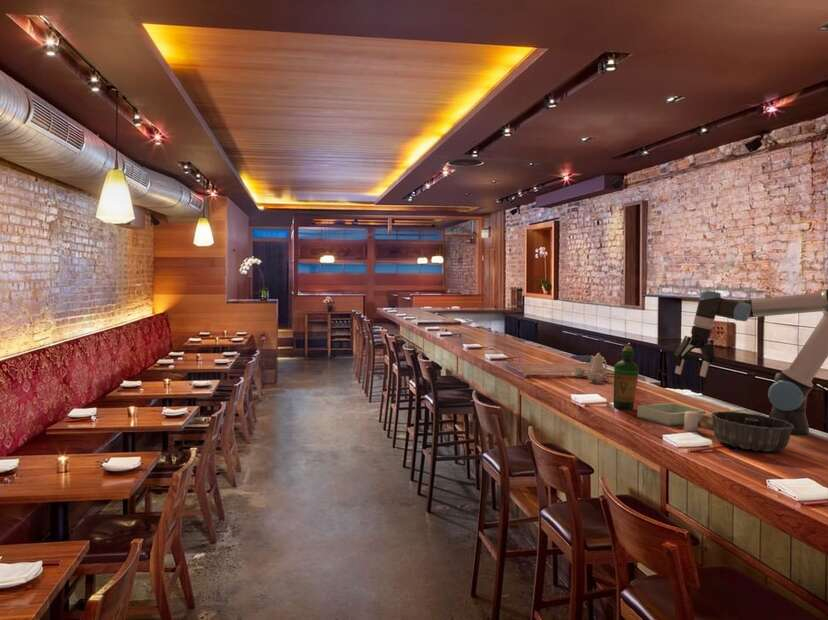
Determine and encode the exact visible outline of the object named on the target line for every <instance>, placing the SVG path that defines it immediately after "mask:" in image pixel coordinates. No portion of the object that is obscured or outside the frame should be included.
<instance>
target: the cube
mask: <svg viewBox="0 0 828 620" xmlns="http://www.w3.org/2000/svg"><path fill="white" fill-rule="evenodd" d="M711 415H712V413H705V414H701V421H700V423H699V427H702V428H704V429H705V428H706V429H709V430H714V429H713V417H711Z"/></svg>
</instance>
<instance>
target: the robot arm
mask: <svg viewBox="0 0 828 620" xmlns="http://www.w3.org/2000/svg"><path fill="white" fill-rule="evenodd" d="M721 295H722V294H721V293H720V292H717V291H713V290H707V289H704V290H702V291H701V293H700V296H699V299H698V303H697V307H696V312H695V316H694V320H693V323H692V324H693V325H692V327H691V331H690V334H691V336H689V335H684V338H683V340H682V342H681V343H680V345H679V346H678V348H677V349H676V351H675V352H674V354H673V356H674V357H675V358H676V362H675V366H676V367H675V370H674V373H675V374H677V375H682V370H683V367H684V363H685V359H684V358H685V357H686V356H687V355H688V354H689V353H691V351H693V350H694V349H699V350H700V351H701V353H702V356H703V359H704V360H703V361H702V363H701V367H700V372H699V376H701V377H703V378H706V377H707V373H708V370H709V368H710V364H713V362H715V360H716V356H715V349H714V342H715V341H714V339H712V338H710V337H711V334H712V331H713V330H712V328H713V327H714V323H715V318H716V316H717V317H722V318H726V319H730V320H734V321H739V322H740V321H741V322H747V321H748V320H749V318H757V317H760V318H761V317H768V316H769V317H770V316H780V315H781V316H782V315H795V314H804V313H805V314H806V313H817V312H822V313H823V316H822V317H821V319H820V320H819V322H818V323H817V325H816V327H815V328H814V330H813V331H812V333H811V334H810V335H809V337H808V338H807V340H806V341H805V343H804V344H803V345H802V348H801V350H800V351H799V352H798V354H797V355H796V357H795V358H794V360H793V361H792V362H791V365H790V366H789V368H786V369H782V370H781V372H777V373H776V374H775V376H774V382H773V383H772V384H771V385H770V386H769V388H768V391H767V396H768V400H769V402H770V403H771V405H772V408H771V411H770V413H769V415H768V417H772V418H775V419H779V420H784V421H787V422H788V423H791V424H793V426H794V428H793V429H792V431H791V434H792V435H808V434H810V433H809V432H810V426H809V423H808V419H807V415H806V414H807V413H806V411H807V410H806V409H807V403H808V402H807V400H808V394H809V393H810V391H811V390H812V389H813V387H814V384H813V382H812V380H813V379H814V378H815V376H816V375H817V374H818V371H819V370H820V369H821V367H822V366H823V365H824V363H825V361H826V360H827V358H828V288H826V289H824V290H823V291H820V292H813V293H812V292H810V293H802V294H794V295H783V296H773V297H764V298H755V299H753V298H752V299H743V300H732V299H726V298H722V297H721Z"/></svg>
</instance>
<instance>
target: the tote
mask: <svg viewBox="0 0 828 620" xmlns="http://www.w3.org/2000/svg"><path fill="white" fill-rule="evenodd" d="M685 411H692V412H697V413H699V418H698V424H700V421H701V414H706V410H703V409H699V408H695V407H690V406H687V405H683V404H679V403H675V402H669V403H667V402H666V403H665V402H664V403H654V404H641V405H640V404H639V405H637V414H636V415H637V416H636V417H637V418H640V419H643V420H646V421H648V422H649V421H650V422H653V423H655V424H659V425H663V426H666V427H675V426H684V417H685Z"/></svg>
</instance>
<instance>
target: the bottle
mask: <svg viewBox="0 0 828 620" xmlns="http://www.w3.org/2000/svg"><path fill="white" fill-rule="evenodd" d="M632 348H633V346H624V347H623V349H622V350H621V353H620V354H621V355H622V356H621V357H622V359H621V360H619V361H617V362H616V363H615V364H614V366H613V407H614V409H616V410H617V409H618V410H622V411H623V410H624V411H631V410H633V409H634V407H635V399H636V393H637V386H638V378H639V372H640V367H639V366H638V364H637V363H636V362H635V361H633V356H634V355H635V353H634V350H633V349H632Z"/></svg>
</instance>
